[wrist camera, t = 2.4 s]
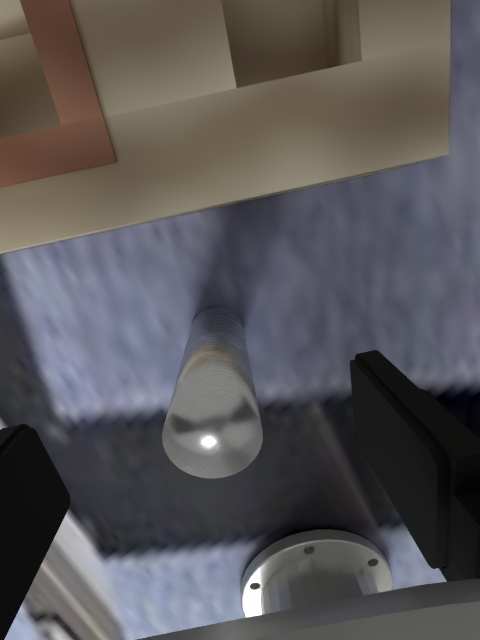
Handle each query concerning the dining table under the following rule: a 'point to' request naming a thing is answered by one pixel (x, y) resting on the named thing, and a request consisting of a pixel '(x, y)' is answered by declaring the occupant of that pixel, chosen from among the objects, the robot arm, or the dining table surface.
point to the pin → (214, 400)
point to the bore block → (207, 104)
